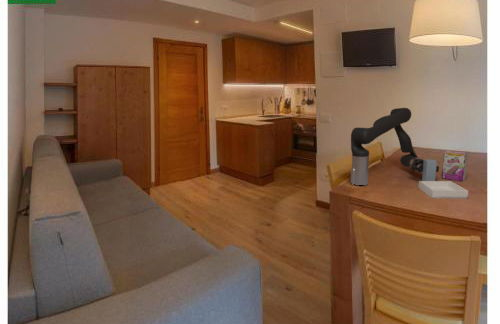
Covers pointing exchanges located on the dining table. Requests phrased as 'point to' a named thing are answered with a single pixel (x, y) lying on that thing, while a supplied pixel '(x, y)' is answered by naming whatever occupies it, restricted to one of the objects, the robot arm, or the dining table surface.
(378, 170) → the dining table surface
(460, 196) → the tray
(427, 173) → the slate block
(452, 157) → the candy bar box
